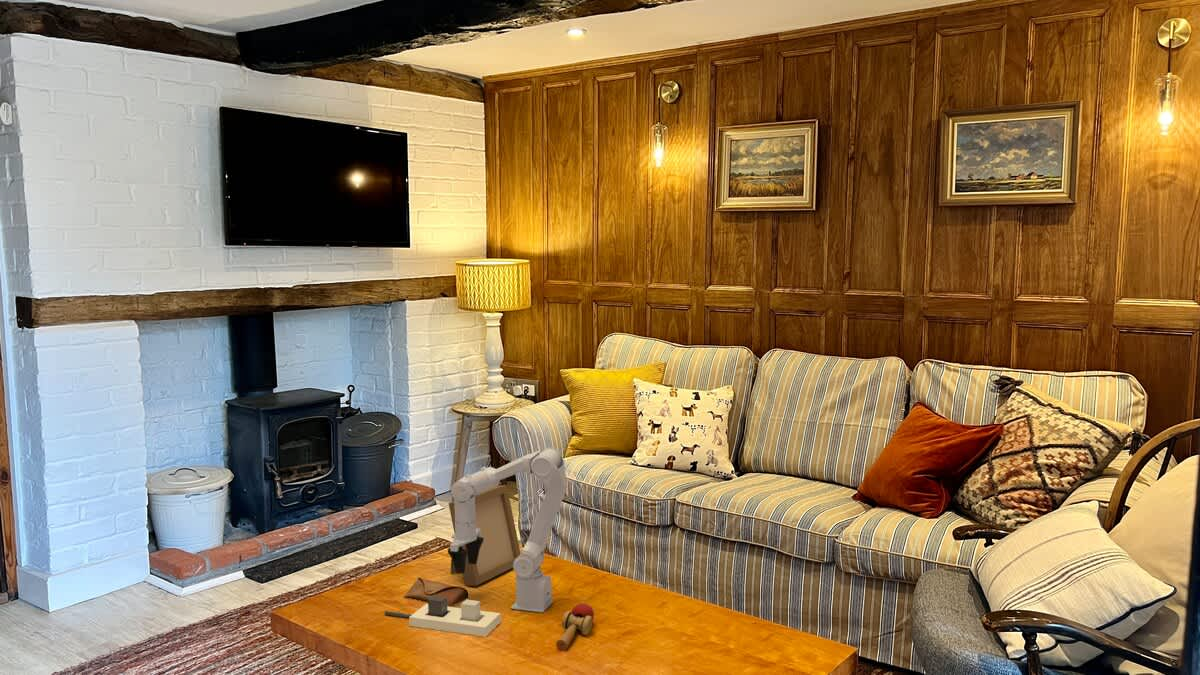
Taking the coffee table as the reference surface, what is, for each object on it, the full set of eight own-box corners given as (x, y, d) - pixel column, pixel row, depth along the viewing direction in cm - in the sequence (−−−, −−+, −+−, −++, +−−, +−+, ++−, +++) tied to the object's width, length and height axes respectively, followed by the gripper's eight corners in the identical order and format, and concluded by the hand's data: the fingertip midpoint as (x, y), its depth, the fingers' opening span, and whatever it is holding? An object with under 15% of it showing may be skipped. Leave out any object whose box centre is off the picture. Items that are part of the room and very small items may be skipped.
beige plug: (480, 623, 230) (480, 601, 230) (475, 627, 227) (474, 605, 227) (466, 621, 231) (466, 599, 231) (461, 626, 229) (461, 603, 228)
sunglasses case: (399, 597, 249) (406, 573, 252) (413, 601, 255) (420, 578, 257) (450, 608, 241) (457, 584, 243) (464, 613, 247) (471, 589, 249)
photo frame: (522, 565, 273) (520, 487, 271) (476, 588, 255) (473, 504, 252) (486, 557, 281) (484, 480, 279) (438, 579, 263) (435, 497, 260)
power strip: (500, 622, 232) (500, 598, 231) (485, 636, 223) (485, 612, 223) (394, 608, 242) (393, 585, 241) (376, 621, 233) (375, 597, 233)
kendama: (580, 658, 214) (602, 618, 231) (574, 634, 213) (597, 596, 230) (551, 659, 217) (575, 620, 234) (545, 635, 216) (570, 598, 233)
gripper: (464, 512, 252) (465, 558, 253) (439, 527, 238) (441, 575, 240) (486, 514, 250) (487, 560, 251) (463, 529, 236) (464, 578, 238)
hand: (466, 568), depth 245 cm, fingers open, 7 cm apart
